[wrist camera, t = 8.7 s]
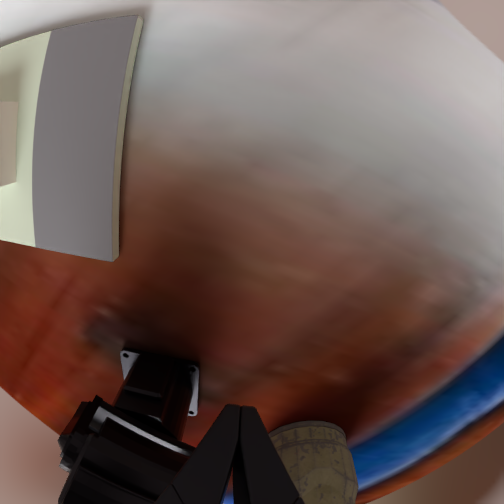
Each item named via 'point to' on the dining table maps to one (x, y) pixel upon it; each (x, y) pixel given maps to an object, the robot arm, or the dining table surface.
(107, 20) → the mats
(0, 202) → the board
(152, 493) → the robot arm
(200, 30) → the dining table surface
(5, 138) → the cream block
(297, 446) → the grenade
